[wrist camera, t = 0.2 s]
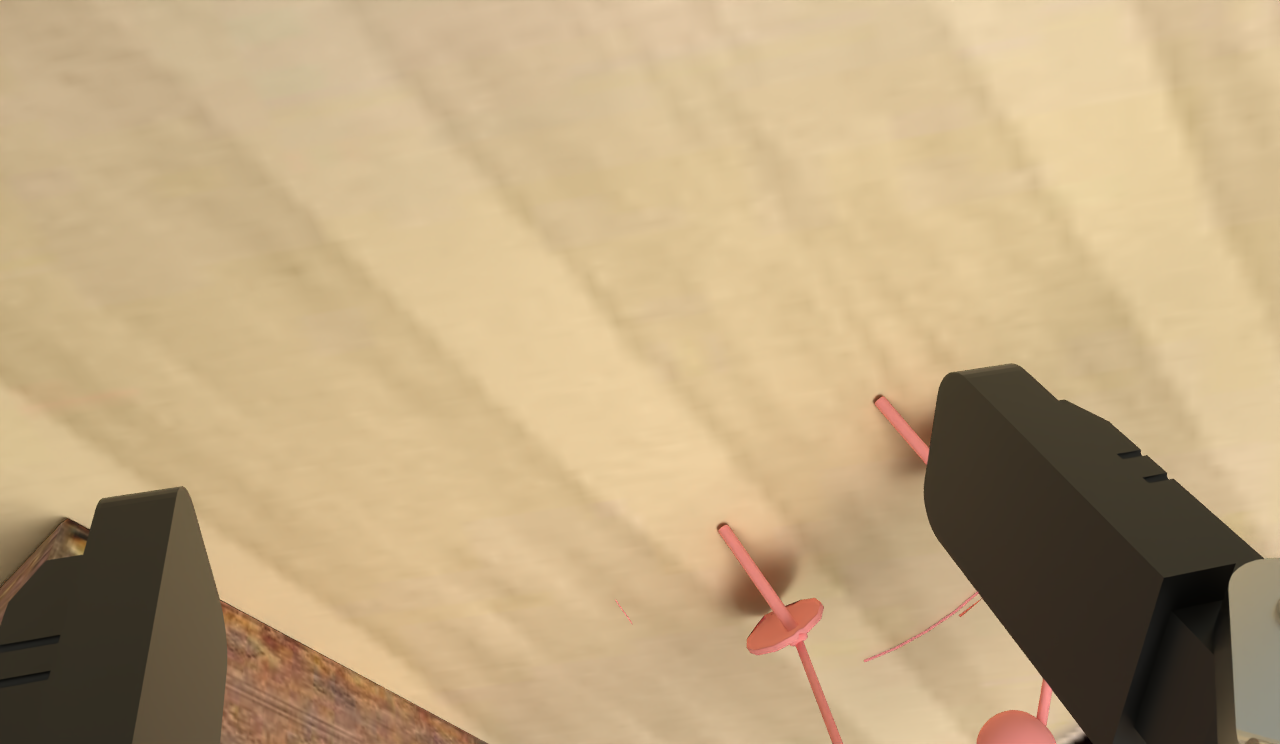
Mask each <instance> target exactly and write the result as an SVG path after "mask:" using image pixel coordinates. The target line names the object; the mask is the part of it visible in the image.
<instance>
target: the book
mask: <svg viewBox="0 0 1280 744" xmlns="http://www.w3.org/2000/svg"><path fill="white" fill-rule="evenodd" d="M89 532H90V530H88V529H86V528H84V527H82V526H80V525H78V524H77V523H75V522H73V521H71V520H69V519H67V520H65V521H64V522H62V523H61V524H60V525H59V526H58V527H57V528H56V529H55V531H54V532H53V533H52V534H51V535H50V536H49V537H48V538H47V539H46V540H45V541H44V542H43V543H42V544H41V545H40V546H39V548H38V549H37V550H36V551H35V552H34V553H33V554H32V555H31V556H30V557H29V558H28V559H27V560H26V561H25V562H24V563H23V564H22V566H21V567H20V568H19V569H18V570H17V571H16V572H15V573H14V574H13V575H12V576H11V577H10V578H9V579H8V580H7V581H6V583H5V584H4V585H3V586H2V587H1V588H0V625H1V622H2V619H3V616H4V613H5V610H6V608H7V605H8V602H9V601H10V600H11V599H12V598H13V596H14V595H15V594H16V593H17V592H18V591H19V590H20V589H21V588H22V586H23V585H24V584H25V583H26V582H27V581H28V580H29V579H30V578H31V576H32V575H33V574H34V573H35V572H36V571H37V570H38V569H39V568H40V566H41V565H42V564H43V563H44V562H45V561H46V560H52V559H58V558H64V557H71V556H77V555H83V553H84V549H85V546H86V542H87V539H88V535H89ZM220 603H221V607H222V611H223V616H224V622H225V630H226V639H227V674H226V685H225V696H224V706H223V717H222V728H221V738H220V744H488V743H486V742H484V741H482V740H480V739H478V738H476V737H474V736H473V735H471V734H469V733H467V732H465V731H463V730H461V729H460V728H458V727H456V726H454V725H452V724H450V723H448V722H446V721H445V720H443V719H441V718H439V717H437V716H435V715H433V714H432V713H430V712H428V711H426V710H424V709H422V708H420V707H418V706H417V705H415V704H413V703H411V702H409V701H407V700H405V699H403V698H402V697H400V696H398V695H396V694H394V693H392V692H390V691H389V690H387V689H385V688H383V687H381V686H379V685H377V684H375V683H374V682H372V681H370V680H368V679H366V678H364V677H362V676H361V675H359V674H357V673H355V672H353V671H351V670H349V669H347V668H346V667H344V666H342V665H340V664H338V663H336V662H334V661H332V660H331V659H329V658H327V657H325V656H323V655H321V654H319V653H318V652H316V651H314V650H312V649H310V648H308V647H306V646H304V645H303V644H301V643H299V642H297V641H295V640H293V639H291V638H290V637H288V636H286V635H284V634H282V633H280V632H278V631H276V630H275V629H273V628H271V627H269V626H267V625H265V624H263V623H261V622H260V621H258V620H256V619H254V618H252V617H250V616H248V615H247V614H245V613H243V612H241V611H239V610H237V609H235V608H233V607H232V606H230V605H228V604H226V603H224V602H222V601H220Z"/></svg>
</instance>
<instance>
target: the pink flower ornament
mask: <svg viewBox="0 0 1280 744" xmlns="http://www.w3.org/2000/svg"><path fill="white" fill-rule="evenodd" d="M875 405H876V407H877V408H878V409H879V410H880V411H881V412H882V414H883V415H884V416H885V417H886V418H887V419H888V421H889V422H890V423H891V424H892V425H893V426H894V428H895V429H896V430H897V431H898V432H899V433H900V435H901V436H902V437H903V438H904V439H905V441H906V442H907V443H908V444H909V445H910V446H911V448H912V449H913V450H914V451H915V452H916V453H917V455H918V456H919V457H920V458H921V459H922V460H923V462H924V463H925V464H926V465H927V461H928V455H929V448H928V446H927V445H926V444H925V443H924V442H923V441H922V440H921V438H920V437H919V436H918V435H917V434H916V433H915V431H914V430H913V429H912V428H911V427H910V426H909V425H908V423H907V422H906V421H905V420H904V419H903V418H902V416H901V415H900V414H899V413H898V412H897V411H896V410H895V408H894V407H893V406H892V405H891V404H890V403H889V401H888V400H887V399H886V398H885V397H881V398H879V399H878V400H877V401H876V402H875ZM718 532H719V534H720V535H721V536H722V538H723V539H724V541H725V542H726V544H727V545H728V547H729V548H730V549H731V551H732V552H733V554H734V555H735V557H736V558H737V560H738V561H739V562H740V564H741V565H742V567H743V568H744V570H745V571H746V573H747V574H748V575H749V577H750V578H751V580H752V581H753V583H754V584H755V586H756V587H757V588H758V590H759V591H760V593H761V594H762V596H763V597H764V599H765V600H766V601H767V603H768V604H769V606H770V607H771V609H772V610H773V612H770V613H768V614H766V615H764V617H763V618H762V619H761V620H760V621H759V623H758V624H757V625H756V627H755V628H754V630H753V631H752V632H751V634H750V635H749V637H748V638H747V649H748V650H749V652H750V653H752V654H755V655H762V654H766V653H771V652H776V651H778V650H780V649H782V648H784V647H786V646H788V645H791V646H796V648H797V650H798V653H799V656H800V658H801V661H802V664H803V666H804V669H805V672H806V674H807V677H808V680H809V682H810V685H811V687H812V690H813V693H814V695H815V698H816V701H817V703H818V706H819V709H820V711H821V714H822V717H823V719H824V722H825V725H826V727H827V730H828V733H829V735H830V738H831V741H832V743H833V744H843V742H842V740H841V737H840V735H839V732H838V730H837V727H836V724H835V722H834V719H833V717H832V714H831V712H830V709H829V706H828V704H827V701H826V699H825V696H824V694H823V691H822V689H821V686H820V683H819V681H818V678H817V676H816V673H815V671H814V668H813V665H812V663H811V660H810V658H809V655H808V653H807V650H806V647H805V645H804V642H803V641H804V640H806V639H807V637H808V636H807V633H808V632H809V631H810V630H811V629H812V628H813V627H814V626H815V625H816V624H817V623H818V622H819V621H820V619H821V617H822V613H823V609H824V607H823V605H822V604H821V602H820V601H818V600H817V599H816V598H812V599H804V600H799V601H797V602H794V603H792V604H789V605H787V606H785V605H784V604H783V603H782V601H781V600H780V598H779V597H778V596H777V594H776V593H775V591H774V590H773V588H772V587H771V586H770V584H769V583H768V581H767V580H766V578H765V577H764V576H763V574H762V573H761V571H760V570H759V568H758V567H757V566H756V564H755V563H754V561H753V560H752V558H751V557H750V556H749V554H748V553H747V551H746V550H745V548H744V547H743V546H742V544H741V543H740V541H739V540H738V538H737V537H736V536H735V534H734V533H733V531H732V530H731V528H730V527H729V526H728V525H724V526H722V527H721V528H720V529H719V531H718ZM977 594H978V592H976V593H975V594H973V595H972V596H971V597H970V598H969V599H968V600H966V601H965V602H964V603H963V604H962V605H961V606H959V607H958V608H957V609H956V610H955V611H953V612H952V613H950V614H949V615H947V616H946V617H945V618H943V619H942V620H940V621H939V622H937V623H936V624H934V625H933V626H932V627H930V628H929V629H927V630H926V631H924V632H922V633H920V634H918V635H917V636H915V637H913V638H911V639H909V640H907V641H906V642H904V643H902V644H900V645H898V646H896V647H894V648H892V649H890V650H887V651H885V652H882V653H880V654H878V655H875V656H873V657H871V658H868V659H866V660H864V662H867V661H869V660H872V659H874V658H877V657H879V656H881V655H884V654H886V653H888V652H891V651H893V650H896V649H898V648H900V647H901V646H903V645H905V644H907V643H909V642H910V641H912V640H914V639H916V638H918V637H920V636H921V635H923V634H925V633H927V632H928V631H930V630H931V629H933V628H934V627H936V626H937V625H939V624H940V623H941V622H943V621H944V620H946V619H947V618H949V617H950V616H952V615H953V614H955V613H956V612H957V611H958V610H960V609H961V608H962V607H963V606H964V605H965V604H967V603H968V602H969V601H970V600H971V599H972V598H974V597H975V596H976V595H977ZM980 600H981V599H980ZM980 600H979V601H980ZM979 601H978V602H979ZM616 602H617V601H616ZM978 602H976V603H975V604H977V603H978ZM617 603H618V602H617ZM975 604H974V605H975ZM618 605H619V604H618ZM974 605H972V606H971V607H970V608H968V609H967V610H966V611H964V612H963V613H962V614H960V615H959V616H960V617H961V616H963V615H964V614H965V613H966V612H967V611H968V610H970V609H971V608H972V607H973V606H974ZM619 606H620V605H619ZM620 608H621V607H620ZM621 609H622V608H621ZM622 610H623V609H622ZM623 612H624V611H623ZM624 613H625V612H624ZM625 615H626V614H625ZM626 616H627V615H626ZM627 618H628V616H627ZM628 619H629V618H628ZM629 620H630V619H629ZM630 622H631V621H630ZM631 623H632V622H631ZM632 625H633V624H632ZM757 626H758V627H757ZM1051 694H1052V689H1051V688H1050V686H1049V685H1048V684H1047V682H1046V681H1045V680H1044V679H1043V682H1042V688H1041V694H1040V700H1039V706H1038V712H1037V718H1036V717H1034V716H1032V715H1030V714H1029V713H1026V712H1023V711H1018V710H1009V711H1004V712H1001V713H999V714H996V715H995V716H993V717H992V718H990V719H989V720H988V721H987V722H986V723H985V724H984V726H983V727H982V729H981V730H980V732H979V735H978V738H977V744H1056V741H1055V739H1054V737H1053V735H1052V734H1051V732H1050V731H1049V729H1048V728H1047V727H1046V725H1047V719H1048V713H1049V706H1050V700H1051Z"/></svg>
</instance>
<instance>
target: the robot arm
mask: <svg viewBox="0 0 1280 744" xmlns="http://www.w3.org/2000/svg"><path fill="white" fill-rule="evenodd" d="M924 502H925V508H926V512H927V516H928V520H929V523H930V525H931V528H932V530H933V532H934V534H935V536H936V537H937V539H938V540H939V542H940V543H941V544H942V546H943V547H944V548H945V550H946V551H947V552H948V554H949V555H950V556H951V558H952V559H953V560H954V562H955V563H956V564H957V565H958V567H959V568H960V569H961V571H962V572H963V573H964V575H965V576H966V577H967V579H968V580H969V581H970V583H971V584H972V585H973V586H974V588H975V589H976V590H977V592H978V593H979V594H980V596H981V597H982V598H983V600H984V601H985V602H986V604H987V605H988V606H989V608H990V609H991V610H992V611H993V613H994V614H995V615H996V617H997V618H998V619H999V621H1000V622H1001V623H1002V625H1003V626H1004V627H1005V629H1006V630H1007V631H1008V633H1009V634H1010V635H1011V636H1012V638H1013V639H1014V640H1015V642H1016V643H1017V644H1018V646H1019V647H1020V648H1021V650H1022V651H1023V652H1024V654H1025V655H1026V656H1027V657H1028V659H1029V660H1030V661H1031V663H1032V664H1033V665H1034V667H1035V668H1036V669H1037V671H1038V672H1039V673H1040V675H1041V676H1042V677H1043V679H1044V680H1045V681H1046V682H1047V684H1048V685H1049V686H1050V688H1051V689H1052V690H1053V692H1054V693H1055V694H1056V696H1057V697H1058V698H1059V700H1060V701H1061V702H1062V704H1063V705H1064V706H1065V707H1066V709H1067V710H1068V711H1069V713H1070V714H1071V715H1072V717H1073V718H1074V719H1075V721H1076V722H1077V723H1078V725H1079V726H1080V727H1081V729H1082V730H1083V731H1084V732H1085V734H1086V735H1087V736H1088V738H1089V739H1090V740H1091V742H1092V743H1093V744H1280V558H1265V559H1264V558H1263V557H1262V556H1261V555H1259V554H1258V553H1257V552H1256V551H1255V550H1254V549H1253V548H1251V547H1250V546H1249V545H1248V544H1247V543H1246V542H1245V541H1244V540H1242V539H1241V538H1240V537H1239V536H1238V535H1237V534H1236V533H1234V532H1233V531H1232V530H1231V529H1230V528H1229V527H1228V526H1227V525H1225V524H1224V523H1223V522H1222V521H1221V520H1220V519H1219V518H1217V517H1216V516H1215V515H1214V514H1213V513H1212V512H1211V511H1210V510H1208V509H1207V508H1206V507H1205V506H1204V505H1203V504H1202V503H1200V502H1199V501H1198V500H1197V499H1196V498H1195V497H1194V496H1193V495H1191V494H1190V493H1189V492H1188V491H1187V490H1186V489H1185V488H1184V487H1182V486H1181V485H1180V484H1179V483H1178V482H1177V481H1176V480H1174V479H1170V480H1169V479H1168V478H1167V472H1165V471H1164V470H1163V469H1162V468H1161V467H1160V466H1159V465H1157V464H1156V463H1155V462H1154V461H1153V460H1152V459H1151V458H1150V457H1148V456H1147V455H1146V456H1142V455H1141V450H1140V449H1139V448H1138V447H1137V446H1136V445H1135V444H1134V443H1133V442H1131V441H1130V440H1129V439H1128V438H1127V437H1126V436H1125V435H1123V434H1122V433H1121V432H1120V431H1119V430H1118V429H1117V428H1116V427H1114V426H1113V425H1112V424H1111V423H1110V422H1109V421H1107V420H1105V419H1103V418H1101V417H1099V416H1097V415H1095V414H1093V413H1091V412H1089V411H1087V410H1085V409H1082V408H1080V407H1078V406H1076V405H1074V404H1072V403H1070V402H1068V401H1066V400H1059V401H1058V400H1057V399H1056V398H1055V397H1054V396H1053V395H1052V394H1051V393H1049V392H1048V391H1047V390H1046V389H1045V388H1044V387H1043V386H1042V385H1041V384H1040V383H1039V382H1037V381H1036V380H1035V379H1034V378H1033V377H1032V376H1031V375H1030V374H1029V373H1028V372H1027V371H1025V370H1024V369H1023V368H1022V367H1020V366H1018V365H1016V364H1005V365H998V366H992V367H985V368H978V369H972V370H965V371H958V372H952V373H949V374H947V375H946V376H945V377H944V378H943V380H942V382H941V384H940V387H939V391H938V396H937V402H936V409H935V415H934V422H933V428H932V435H931V442H930V448H929V455H928V461H927V468H926V475H925V481H924ZM226 674H227V639H226V630H225V622H224V616H223V611H222V607H221V603H220V599H219V595H218V592H217V588H216V585H215V581H214V577H213V574H212V570H211V567H210V563H209V560H208V556H207V552H206V549H205V545H204V542H203V538H202V535H201V531H200V527H199V524H198V520H197V517H196V513H195V510H194V506H193V503H192V500H191V497H190V495H189V493H188V491H187V490H186V488H185V487H183V486H182V487H175V488H168V489H162V490H155V491H148V492H142V493H135V494H128V495H122V496H115V497H108V498H102V499H101V500H100V501H99V503H98V504H97V507H96V510H95V514H94V517H93V521H92V524H91V528H90V532H89V535H88V539H87V542H86V546H85V549H84V553H83V555H77V556H71V557H64V558H58V559H52V560H46V561H45V562H44V563H43V564H42V565H41V566H40V568H39V569H38V570H37V571H36V572H35V573H34V574H33V575H32V576H31V578H30V579H29V580H28V581H27V582H26V583H25V584H24V585H23V586H22V588H21V589H20V590H19V591H18V592H17V593H16V594H15V595H14V596H13V598H12V599H11V600H10V601H9V602H8V605H7V608H6V610H5V613H4V616H3V619H2V622H1V625H0V744H220V738H221V728H222V717H223V706H224V696H225V685H226Z"/></svg>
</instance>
